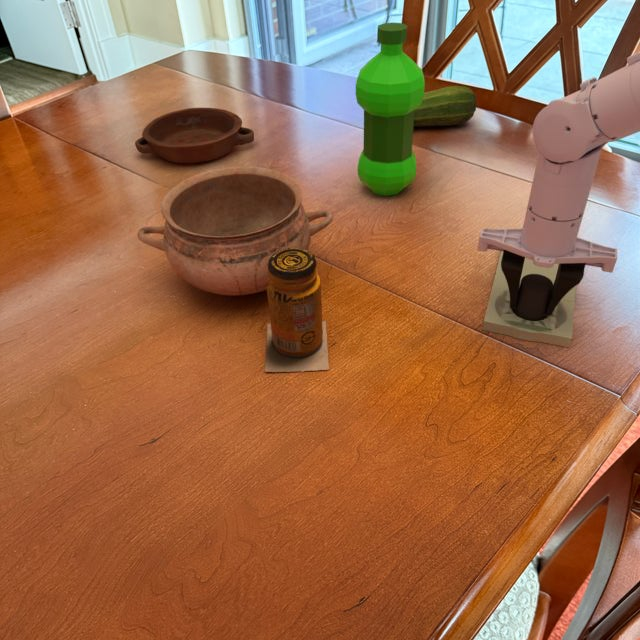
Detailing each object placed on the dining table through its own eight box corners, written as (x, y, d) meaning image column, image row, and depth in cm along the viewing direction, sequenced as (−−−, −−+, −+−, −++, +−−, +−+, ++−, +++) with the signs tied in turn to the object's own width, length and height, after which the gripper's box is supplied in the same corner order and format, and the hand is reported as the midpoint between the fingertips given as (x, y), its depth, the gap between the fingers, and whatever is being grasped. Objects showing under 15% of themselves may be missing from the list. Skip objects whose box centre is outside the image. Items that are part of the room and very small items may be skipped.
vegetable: (480, 81, 112) (374, 89, 112) (480, 122, 114) (376, 130, 113) (469, 87, 119) (369, 95, 119) (469, 125, 121) (371, 132, 120)
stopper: (550, 317, 73) (559, 285, 70) (529, 328, 72) (538, 296, 68) (528, 302, 75) (536, 270, 72) (507, 312, 74) (514, 280, 71)
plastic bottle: (416, 173, 103) (428, 16, 87) (416, 204, 95) (429, 37, 79) (358, 172, 104) (359, 16, 88) (353, 203, 97) (353, 38, 80)
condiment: (325, 322, 75) (322, 240, 67) (329, 370, 68) (325, 286, 60) (267, 324, 75) (257, 243, 67) (265, 373, 68) (253, 290, 60)
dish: (140, 137, 119) (134, 112, 116) (250, 125, 122) (248, 101, 118) (135, 177, 106) (128, 150, 103) (259, 163, 109) (256, 137, 105)
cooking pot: (145, 333, 74) (120, 250, 66) (158, 248, 89) (138, 172, 81) (344, 312, 76) (343, 229, 68) (325, 232, 90) (323, 156, 82)
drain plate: (569, 349, 69) (572, 340, 68) (481, 331, 72) (483, 322, 71) (577, 254, 84) (579, 245, 83) (503, 242, 86) (505, 233, 85)
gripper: (480, 216, 63) (464, 314, 72) (630, 238, 59) (593, 340, 68) (490, 185, 68) (474, 280, 77) (629, 203, 64) (595, 302, 73)
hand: (530, 306), depth 73 cm, fingers closed on stopper, 3 cm apart
